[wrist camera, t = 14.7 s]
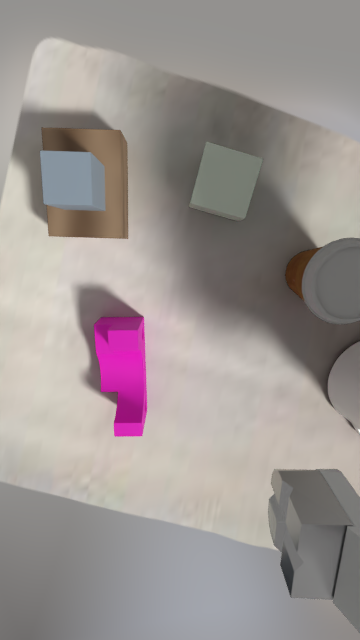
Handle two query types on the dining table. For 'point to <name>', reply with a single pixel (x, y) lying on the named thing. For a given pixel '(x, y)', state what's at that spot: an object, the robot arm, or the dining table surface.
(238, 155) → the sage block
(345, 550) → the robot arm
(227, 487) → the dining table surface
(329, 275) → the disposable coffee cup
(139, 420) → the toy block
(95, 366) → the dining table surface
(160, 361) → the dining table surface
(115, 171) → the walnut pedestal
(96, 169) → the slate block
